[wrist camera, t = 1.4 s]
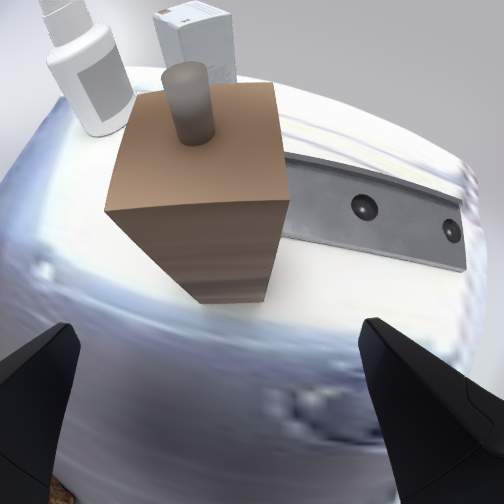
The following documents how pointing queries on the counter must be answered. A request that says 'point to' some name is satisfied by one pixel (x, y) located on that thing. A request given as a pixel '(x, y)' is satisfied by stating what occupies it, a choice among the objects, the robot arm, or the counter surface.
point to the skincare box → (198, 39)
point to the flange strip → (372, 213)
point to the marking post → (204, 183)
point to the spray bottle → (87, 67)
